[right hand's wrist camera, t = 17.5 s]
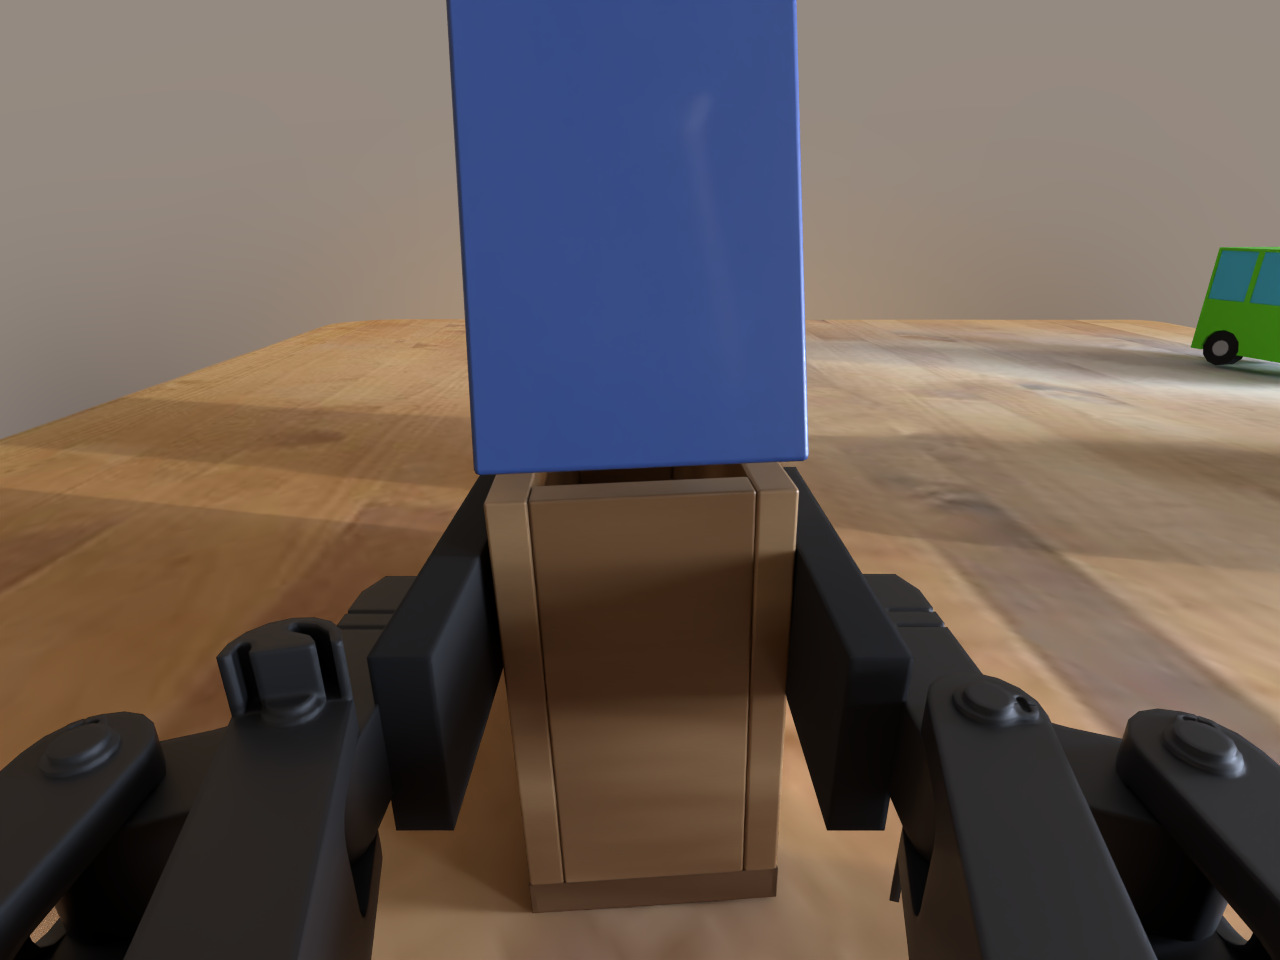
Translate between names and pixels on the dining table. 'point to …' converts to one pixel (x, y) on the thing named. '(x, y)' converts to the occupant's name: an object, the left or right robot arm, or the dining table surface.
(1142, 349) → the dining table surface
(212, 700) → the dining table surface
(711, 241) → the lid
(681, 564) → the chest
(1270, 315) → the toy car
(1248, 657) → the dining table surface
